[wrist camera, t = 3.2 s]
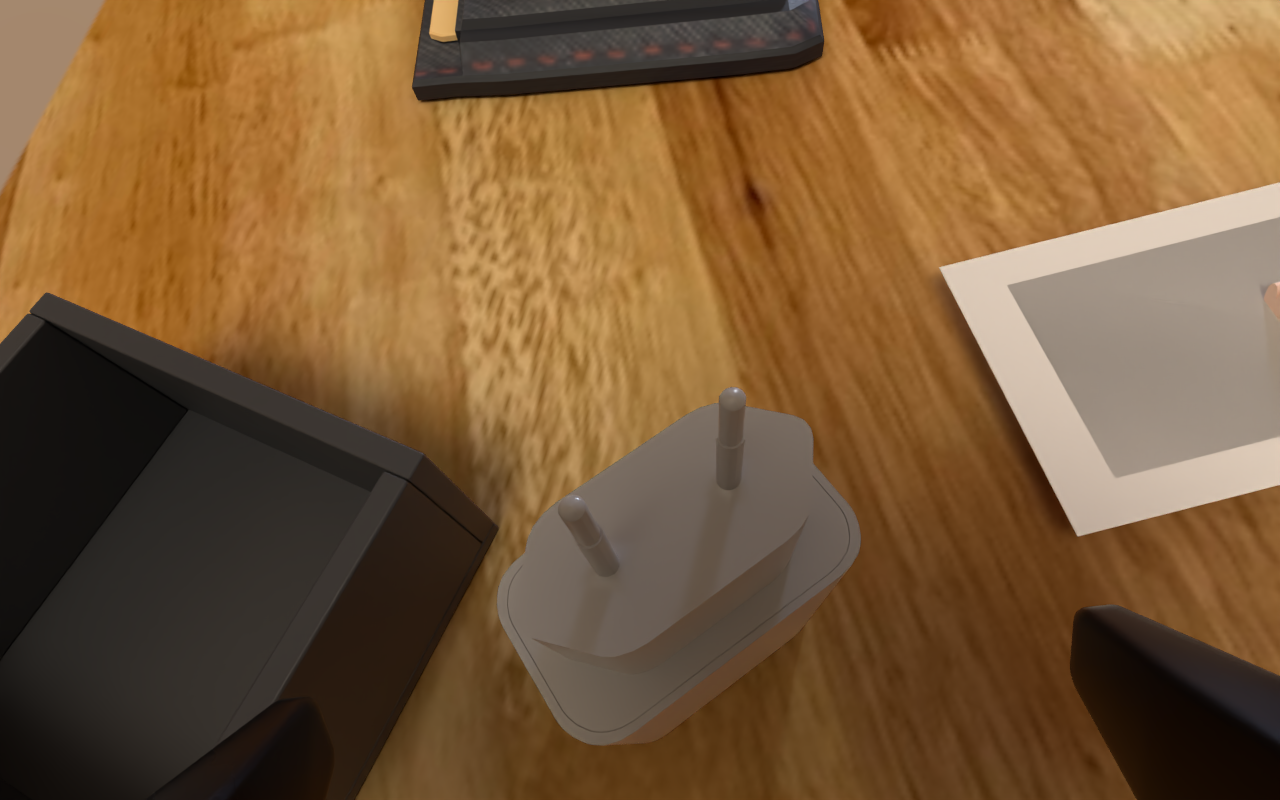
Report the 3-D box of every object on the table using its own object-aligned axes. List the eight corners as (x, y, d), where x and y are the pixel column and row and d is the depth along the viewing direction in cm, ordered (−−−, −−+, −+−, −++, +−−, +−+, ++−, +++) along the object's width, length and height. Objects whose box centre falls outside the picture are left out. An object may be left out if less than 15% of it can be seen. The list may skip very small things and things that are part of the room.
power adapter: (565, 641, 18) (326, 486, 7) (741, 515, 19) (776, 202, 8) (636, 757, 16) (481, 795, 6) (820, 616, 17) (996, 412, 6)
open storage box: (258, 982, 15) (38, 1099, 10) (-72, 750, 18) (-372, 754, 13) (499, 527, 19) (424, 453, 14) (197, 393, 22) (45, 291, 17)
